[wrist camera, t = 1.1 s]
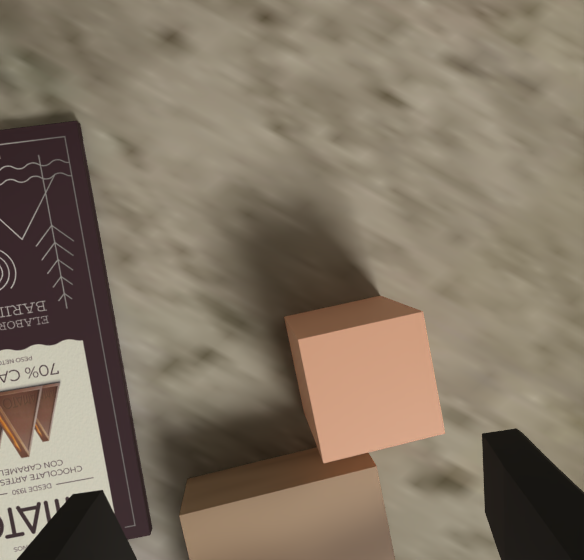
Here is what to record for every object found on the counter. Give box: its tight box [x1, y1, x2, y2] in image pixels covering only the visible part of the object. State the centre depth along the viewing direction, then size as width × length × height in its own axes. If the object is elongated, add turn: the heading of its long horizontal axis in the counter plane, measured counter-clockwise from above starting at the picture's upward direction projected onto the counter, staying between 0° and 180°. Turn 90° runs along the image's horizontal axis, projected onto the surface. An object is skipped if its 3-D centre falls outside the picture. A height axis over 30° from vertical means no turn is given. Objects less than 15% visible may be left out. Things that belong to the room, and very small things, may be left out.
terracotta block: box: [284, 296, 445, 463], centre depth 21 cm, size 4×4×6 cm
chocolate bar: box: [0, 121, 152, 560], centre depth 22 cm, size 9×1×18 cm
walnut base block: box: [179, 447, 395, 560], centre depth 22 cm, size 8×8×4 cm
